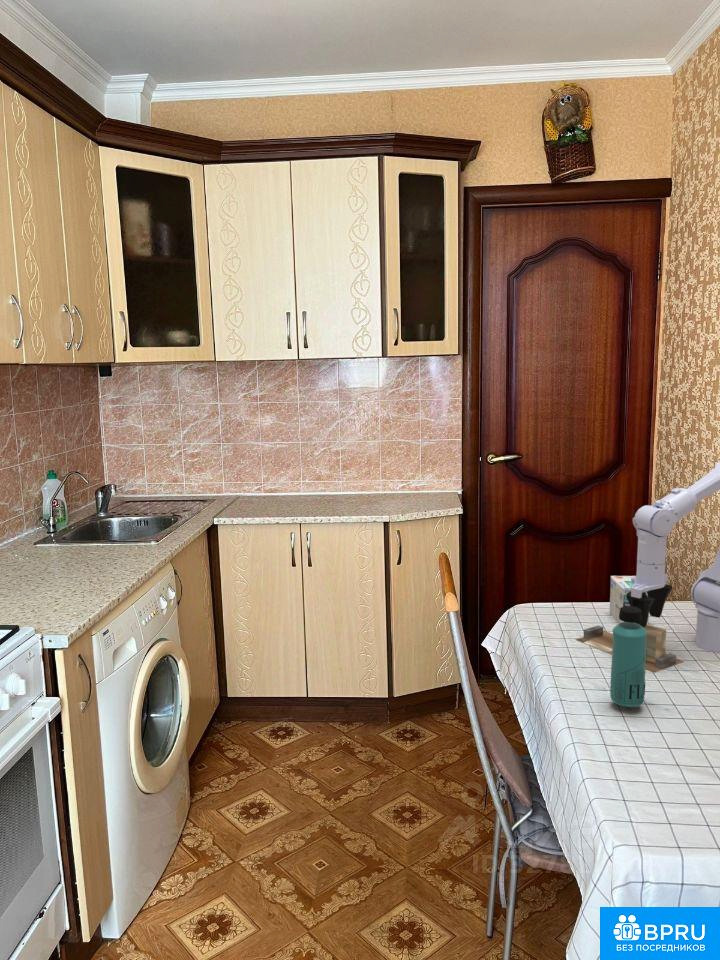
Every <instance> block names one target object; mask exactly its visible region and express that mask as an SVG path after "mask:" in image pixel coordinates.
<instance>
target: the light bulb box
mask: <svg viewBox="0 0 720 960" xmlns="http://www.w3.org/2000/svg"><path fill="white" fill-rule="evenodd" d="M632 577H636V575H610V589H609V590H610V591H609V592H610V593H609V595H610V597H609V616H612V618H614V620H615V621H616V622H617V623H618V624H620V623H622V622H624V621H622V620H620V619H619V613H620V608H621V607H625V606H630V603H629V601H628V600H627V598H626V594H627V593H628V592H631V588H632V587H633V586H634V583H635V582H632V581H631V578H632ZM646 595H647V592H646ZM647 597H648V595H647ZM649 616H650V615H649ZM649 616H648V621H647V625H649V618H650V617H649Z"/></svg>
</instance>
